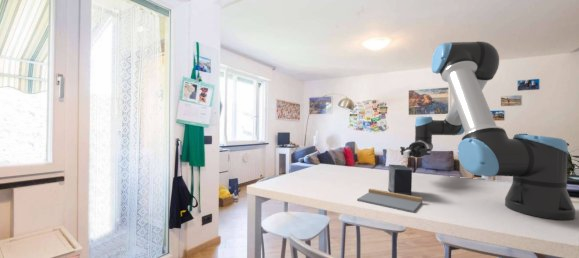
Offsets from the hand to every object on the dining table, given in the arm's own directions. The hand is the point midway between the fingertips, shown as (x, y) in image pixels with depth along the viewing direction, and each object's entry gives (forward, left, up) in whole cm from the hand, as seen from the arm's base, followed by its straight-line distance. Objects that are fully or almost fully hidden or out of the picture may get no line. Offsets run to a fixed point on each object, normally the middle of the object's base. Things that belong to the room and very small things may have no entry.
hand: (405, 154), depth 99 cm
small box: (0, +9, -14) cm, 17 cm away
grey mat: (0, +21, -14) cm, 25 cm away
